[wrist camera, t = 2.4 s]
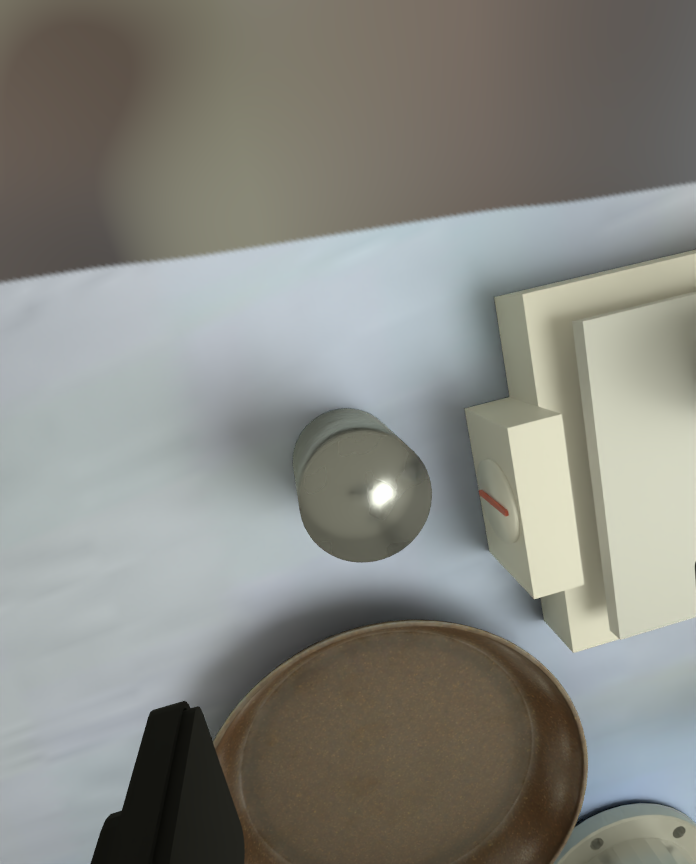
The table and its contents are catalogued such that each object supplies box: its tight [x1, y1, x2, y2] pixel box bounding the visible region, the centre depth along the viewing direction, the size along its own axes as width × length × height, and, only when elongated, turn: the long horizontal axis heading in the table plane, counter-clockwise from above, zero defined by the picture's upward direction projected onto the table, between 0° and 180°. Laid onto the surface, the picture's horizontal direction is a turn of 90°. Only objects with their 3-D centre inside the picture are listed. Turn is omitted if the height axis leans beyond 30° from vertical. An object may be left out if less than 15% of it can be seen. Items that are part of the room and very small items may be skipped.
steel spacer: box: [293, 408, 432, 562], centre depth 24 cm, size 5×5×6 cm
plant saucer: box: [213, 620, 588, 864], centre depth 29 cm, size 21×21×3 cm
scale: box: [464, 250, 696, 653], centre depth 26 cm, size 18×21×5 cm
